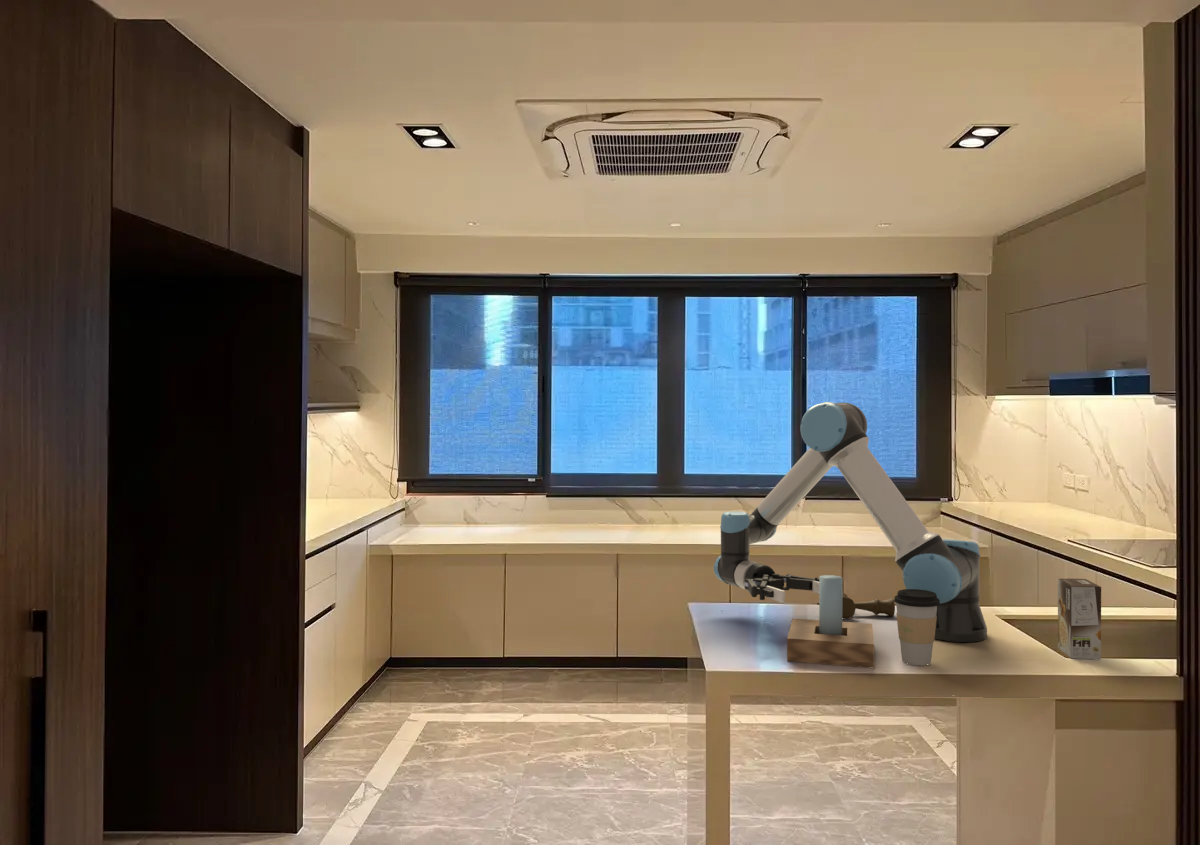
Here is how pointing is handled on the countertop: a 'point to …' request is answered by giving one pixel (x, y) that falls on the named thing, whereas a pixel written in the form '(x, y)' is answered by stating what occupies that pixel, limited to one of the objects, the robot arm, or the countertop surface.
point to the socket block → (831, 644)
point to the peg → (830, 605)
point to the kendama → (867, 606)
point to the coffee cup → (916, 624)
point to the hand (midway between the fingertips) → (807, 594)
